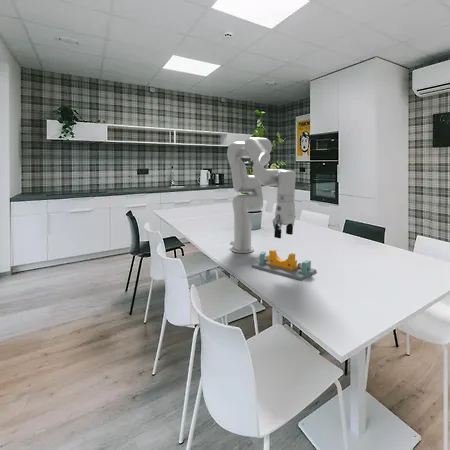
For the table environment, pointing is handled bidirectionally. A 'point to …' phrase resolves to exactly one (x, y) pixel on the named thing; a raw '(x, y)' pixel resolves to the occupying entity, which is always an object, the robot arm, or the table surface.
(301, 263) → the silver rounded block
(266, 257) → the short metal cylinder
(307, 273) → the stand
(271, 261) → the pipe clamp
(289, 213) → the robot arm
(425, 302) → the table surface
